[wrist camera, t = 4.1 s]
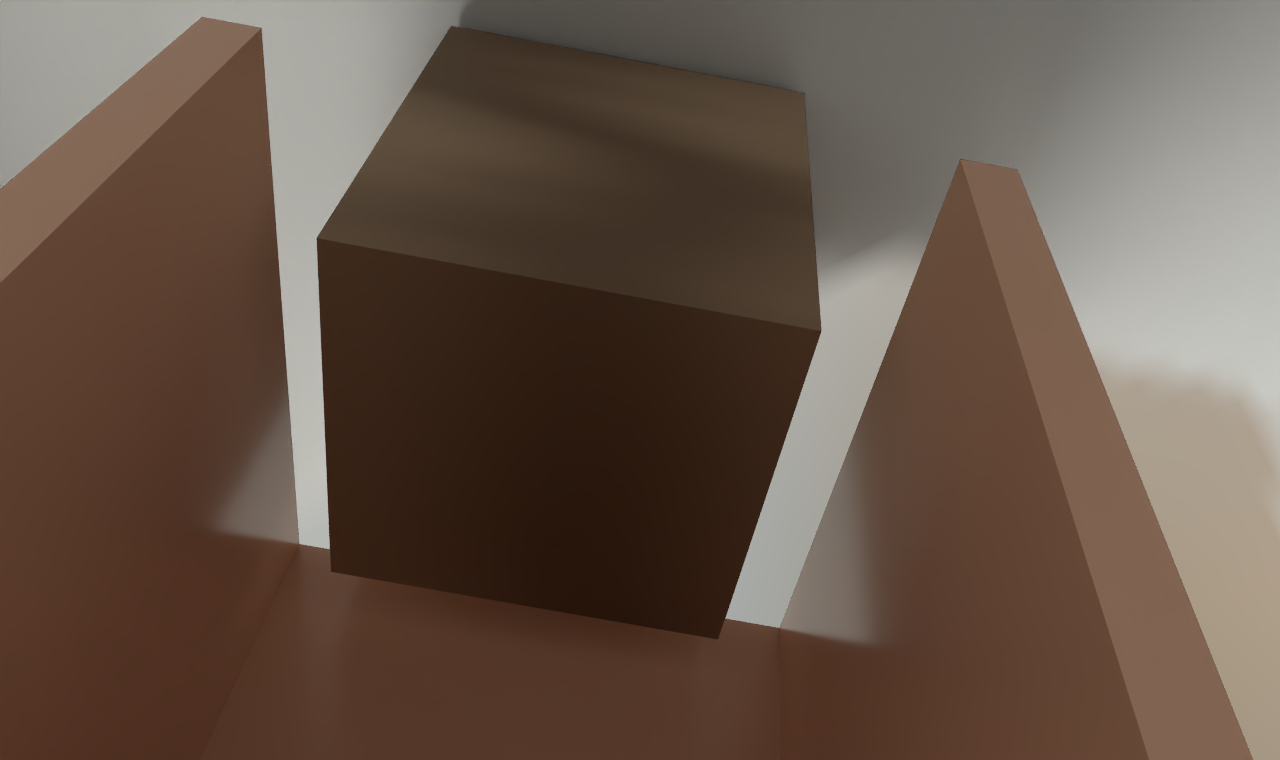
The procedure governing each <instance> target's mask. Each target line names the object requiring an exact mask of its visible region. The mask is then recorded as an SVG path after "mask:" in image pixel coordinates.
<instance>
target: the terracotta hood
mask: <svg viewBox="0 0 1280 760" xmlns="http://www.w3.org/2000/svg"><path fill="white" fill-rule="evenodd" d="M0 760H1253V758H1252V756H1251V753H1250V751H1249V748H1248V746H1247V743H1246V741H1245V738H1244V736H1243V733H1242V731H1241V728H1240V726H1239V723H1238V721H1237V718H1236V716H1235V713H1234V711H1233V708H1232V706H1231V703H1230V700H1229V698H1228V695H1227V693H1226V690H1225V688H1224V685H1223V683H1222V681H1221V678H1220V675H1219V673H1218V670H1217V668H1216V665H1215V663H1214V661H1213V658H1212V655H1211V653H1210V650H1209V648H1208V645H1207V643H1206V640H1205V638H1204V635H1203V633H1202V630H1201V628H1200V626H1199V623H1198V620H1197V618H1196V615H1195V613H1194V610H1193V608H1192V605H1191V603H1190V600H1189V598H1188V595H1187V593H1186V590H1185V588H1184V585H1183V583H1182V580H1181V578H1180V575H1179V573H1178V571H1177V568H1176V566H1175V563H1174V560H1173V558H1172V555H1171V553H1170V550H1169V548H1168V545H1167V543H1166V540H1165V538H1164V535H1163V533H1162V530H1161V528H1160V525H1159V523H1158V520H1157V518H1156V515H1155V513H1154V510H1153V508H1152V506H1151V503H1150V500H1149V498H1148V495H1147V493H1146V490H1145V488H1144V485H1143V483H1142V480H1141V478H1140V475H1139V473H1138V470H1137V468H1136V465H1135V463H1134V460H1133V458H1132V455H1131V453H1130V450H1129V448H1128V445H1127V443H1126V440H1125V438H1124V435H1123V433H1122V430H1121V427H1120V425H1119V423H1118V420H1117V418H1116V415H1115V412H1114V410H1113V408H1112V405H1111V403H1110V400H1109V397H1108V395H1107V392H1106V390H1105V387H1104V385H1103V382H1102V380H1101V377H1100V375H1099V372H1098V370H1097V367H1096V365H1095V362H1094V360H1093V357H1092V355H1091V352H1090V350H1089V347H1088V345H1087V342H1086V340H1085V337H1084V335H1083V332H1082V330H1081V327H1080V325H1079V322H1078V320H1077V317H1076V315H1075V312H1074V310H1073V307H1072V305H1071V302H1070V300H1069V297H1068V295H1067V292H1066V290H1065V287H1064V285H1063V282H1062V280H1061V277H1060V275H1059V272H1058V270H1057V267H1056V265H1055V262H1054V260H1053V257H1052V255H1051V252H1050V250H1049V247H1048V245H1047V242H1046V240H1045V237H1044V235H1043V232H1042V230H1041V227H1040V225H1039V222H1038V220H1037V217H1036V215H1035V212H1034V210H1033V207H1032V205H1031V202H1030V200H1029V197H1028V195H1027V192H1026V190H1025V187H1024V185H1023V182H1022V180H1021V177H1020V175H1019V172H1018V170H1016V169H1011V168H1006V167H1000V166H995V165H990V164H984V163H979V162H974V161H968V160H963V159H960V161H959V164H958V167H957V169H956V172H955V174H954V177H953V180H952V182H951V185H950V187H949V190H948V193H947V195H946V198H945V200H944V203H943V206H942V208H941V211H940V213H939V216H938V218H937V221H936V224H935V226H934V229H933V231H932V234H931V237H930V239H929V242H928V244H927V247H926V250H925V252H924V255H923V257H922V260H921V263H920V265H919V268H918V270H917V273H916V276H915V278H914V281H913V283H912V286H911V289H910V291H909V294H908V296H907V299H906V302H905V304H904V307H903V309H902V312H901V315H900V317H899V320H898V322H897V325H896V327H895V330H894V333H893V335H892V338H891V340H890V343H889V346H888V348H887V351H886V354H885V356H884V359H883V361H882V364H881V366H880V369H879V372H878V374H877V377H876V380H875V382H874V385H873V387H872V390H871V392H870V395H869V398H868V400H867V403H866V406H865V408H864V411H863V413H862V416H861V418H860V421H859V423H858V426H857V429H856V431H855V434H854V437H853V439H852V442H851V444H850V447H849V449H848V452H847V455H846V457H845V460H844V463H843V465H842V468H841V470H840V473H839V475H838V478H837V481H836V483H835V486H834V488H833V491H832V494H831V496H830V499H829V501H828V504H827V507H826V509H825V512H824V514H823V517H822V520H821V522H820V525H819V527H818V530H817V532H816V535H815V538H814V540H813V543H812V545H811V548H810V551H809V553H808V556H807V558H806V561H805V564H804V566H803V569H802V571H801V574H800V577H799V579H798V582H797V585H796V587H795V590H794V592H793V595H792V597H791V600H790V603H789V605H788V608H787V610H786V613H785V616H784V618H783V621H782V623H781V626H780V628H776V627H770V626H764V625H758V624H753V623H747V622H741V621H736V620H730V619H725V620H724V623H723V626H722V629H721V632H720V635H719V638H718V640H717V639H712V638H706V637H700V636H695V635H689V634H683V633H677V632H672V631H666V630H660V629H655V628H649V627H643V626H637V625H632V624H626V623H620V622H615V621H609V620H603V619H598V618H592V617H586V616H580V615H575V614H569V613H563V612H558V611H552V610H546V609H540V608H535V607H529V606H523V605H518V604H512V603H506V602H500V601H495V600H489V599H483V598H478V597H472V596H466V595H460V594H455V593H449V592H443V591H438V590H432V589H426V588H420V587H415V586H409V585H403V584H398V583H392V582H386V581H380V580H375V579H369V578H363V577H358V576H352V575H346V574H341V573H335V572H331V561H330V549H324V548H318V547H313V546H307V545H301V544H299V533H298V520H297V506H296V493H295V479H294V465H293V452H292V438H291V424H290V411H289V397H288V384H287V370H286V356H285V343H284V329H283V315H282V302H281V288H280V275H279V261H278V247H277V234H276V220H275V206H274V193H273V179H272V166H271V152H270V138H269V125H268V111H267V98H266V84H265V70H264V57H263V43H262V29H261V28H258V27H253V26H248V25H242V24H237V23H232V22H226V21H221V20H216V19H210V18H205V17H201V18H200V19H199V20H198V21H197V22H196V23H194V24H193V25H192V26H191V27H190V28H189V29H187V30H186V31H185V32H184V33H183V34H182V35H180V36H179V37H178V38H177V39H176V40H174V41H173V42H172V43H171V44H170V45H169V46H167V47H166V48H165V49H164V50H163V51H162V52H160V53H159V54H158V55H157V56H156V57H155V58H153V59H152V60H151V61H150V62H149V63H148V64H146V65H145V66H144V67H143V68H142V69H141V70H139V71H138V72H137V73H136V74H135V75H133V76H132V77H131V78H130V79H129V80H128V81H126V82H125V83H124V84H123V85H122V86H121V87H119V88H118V89H117V90H116V91H115V92H114V93H112V94H111V95H110V96H109V97H108V98H107V99H105V100H104V101H103V102H102V103H101V104H99V105H98V106H97V107H96V108H95V109H94V110H92V111H91V112H90V113H89V114H88V115H87V116H85V117H84V118H83V119H82V120H81V121H80V122H78V123H77V124H76V125H75V126H74V127H73V128H71V129H70V130H69V131H68V132H67V133H66V134H64V135H63V136H62V137H61V138H60V139H58V140H57V141H56V142H55V143H54V144H53V145H51V146H50V147H49V148H48V149H47V150H46V151H44V152H43V153H42V154H41V155H40V156H39V157H37V158H36V159H35V160H34V161H33V162H32V163H30V164H29V165H28V166H27V167H26V168H25V169H23V170H22V171H21V172H20V173H19V174H17V175H16V176H15V177H14V178H13V179H12V180H10V181H9V182H8V183H7V184H6V185H5V186H3V187H2V188H1V189H0Z"/></svg>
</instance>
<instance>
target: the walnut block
mask: <svg viewBox="0 0 1280 760" xmlns="http://www.w3.org/2000/svg"><path fill="white" fill-rule="evenodd" d="M317 255H318V279H319V302H320V326H321V349H322V373H323V396H324V420H325V443H326V467H327V490H328V514H329V536H330V561H331V572H335V573H341V574H346V575H352V576H358V577H363V578H369V579H375V580H380V581H386V582H392V583H398V584H403V585H409V586H415V587H420V588H426V589H432V590H438V591H443V592H449V593H455V594H460V595H466V596H472V597H478V598H483V599H489V600H495V601H500V602H506V603H512V604H518V605H523V606H529V607H535V608H540V609H546V610H552V611H558V612H563V613H569V614H575V615H580V616H586V617H592V618H598V619H603V620H609V621H615V622H620V623H626V624H632V625H637V626H643V627H649V628H655V629H660V630H666V631H672V632H677V633H683V634H689V635H695V636H700V637H706V638H712V639H717V640H718V638H719V635H720V632H721V629H722V626H723V623H724V620H725V617H726V614H727V611H728V608H729V605H730V602H731V599H732V596H733V593H734V590H735V587H736V584H737V581H738V579H739V576H740V572H741V570H742V567H743V564H744V561H745V558H746V555H747V552H748V549H749V546H750V542H751V540H752V536H753V534H754V531H755V528H756V525H757V522H758V519H759V516H760V512H761V510H762V507H763V504H764V501H765V498H766V495H767V492H768V489H769V486H770V483H771V480H772V477H773V474H774V471H775V468H776V465H777V462H778V459H779V456H780V453H781V450H782V447H783V444H784V441H785V438H786V435H787V432H788V429H789V426H790V423H791V420H792V417H793V414H794V411H795V408H796V405H797V402H798V399H799V396H800V393H801V390H802V387H803V384H804V381H805V378H806V375H807V372H808V369H809V366H810V363H811V360H812V357H813V355H814V351H815V349H816V346H817V343H818V340H819V337H820V334H821V319H820V305H819V292H818V278H817V264H816V250H815V237H814V223H813V209H812V195H811V182H810V168H809V154H808V140H807V127H806V113H805V99H804V93H801V92H796V91H791V90H785V89H780V88H775V87H770V86H764V85H759V84H754V83H749V82H743V81H738V80H733V79H728V78H722V77H717V76H712V75H707V74H701V73H696V72H691V71H686V70H680V69H675V68H670V67H665V66H659V65H654V64H649V63H644V62H638V61H633V60H628V59H623V58H617V57H612V56H607V55H602V54H596V53H591V52H586V51H581V50H575V49H570V48H565V47H560V46H554V45H549V44H544V43H539V42H533V41H528V40H523V39H518V38H512V37H507V36H502V35H497V34H491V33H486V32H481V31H476V30H470V29H465V28H460V27H455V26H451V27H450V29H449V30H448V32H447V34H446V35H445V37H444V38H443V40H442V41H441V43H440V45H439V46H438V48H437V49H436V51H435V52H434V54H433V56H432V57H431V59H430V60H429V62H428V64H427V65H426V67H425V68H424V70H423V71H422V73H421V75H420V76H419V78H418V79H417V81H416V82H415V84H414V86H413V87H412V89H411V90H410V92H409V93H408V95H407V97H406V98H405V100H404V101H403V103H402V105H401V106H400V108H399V109H398V111H397V112H396V114H395V116H394V117H393V119H392V120H391V122H390V123H389V125H388V127H387V128H386V130H385V131H384V133H383V134H382V136H381V138H380V139H379V141H378V142H377V144H376V146H375V147H374V149H373V150H372V152H371V153H370V155H369V157H368V158H367V160H366V161H365V163H364V164H363V166H362V168H361V169H360V171H359V172H358V174H357V175H356V177H355V179H354V180H353V182H352V183H351V185H350V186H349V188H348V190H347V191H346V193H345V194H344V196H343V198H342V199H341V201H340V202H339V204H338V205H337V207H336V209H335V210H334V212H333V213H332V215H331V216H330V218H329V220H328V221H327V223H326V224H325V226H324V227H323V229H322V231H321V232H320V234H319V235H318V237H317Z"/></svg>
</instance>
